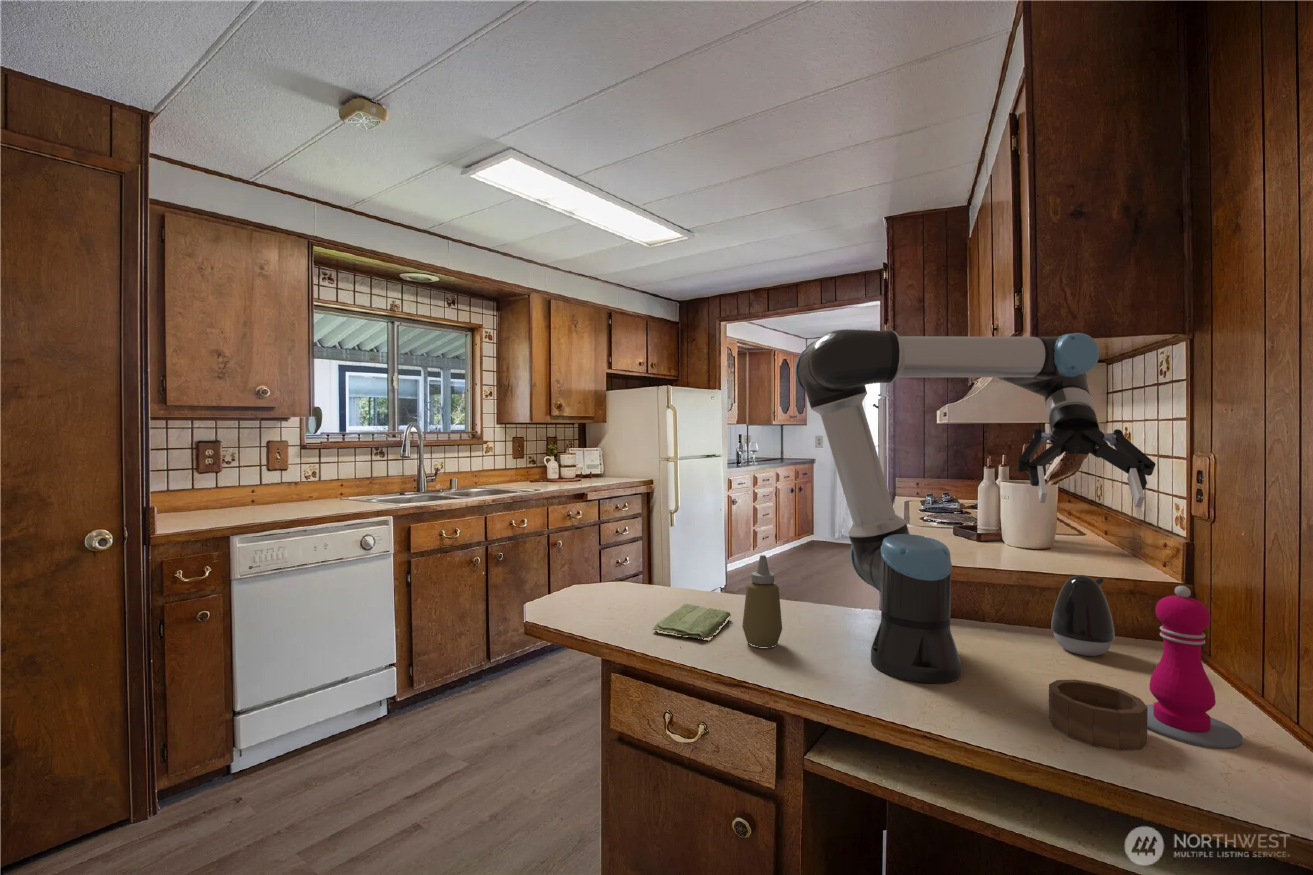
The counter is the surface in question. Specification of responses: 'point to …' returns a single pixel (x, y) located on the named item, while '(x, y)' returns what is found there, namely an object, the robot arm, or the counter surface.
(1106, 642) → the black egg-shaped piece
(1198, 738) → the coaster
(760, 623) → the squeeze bottle
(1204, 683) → the pepper mill
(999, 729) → the counter surface
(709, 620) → the washcloth
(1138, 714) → the brown wooden bowl
